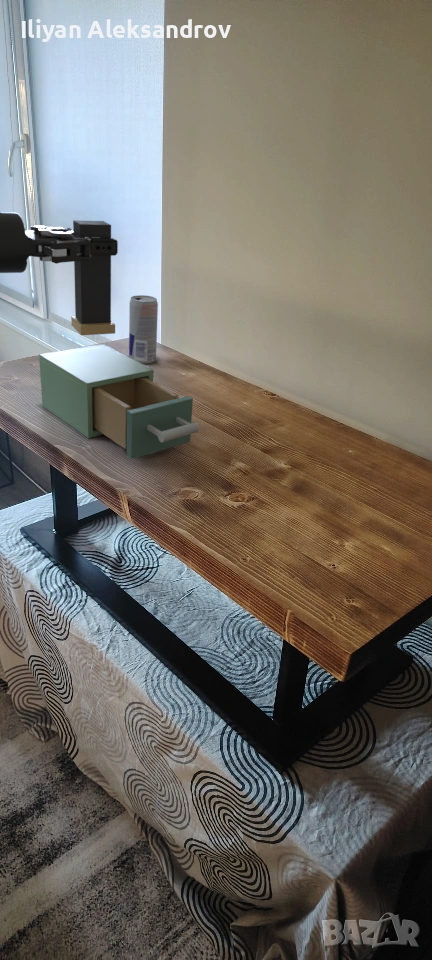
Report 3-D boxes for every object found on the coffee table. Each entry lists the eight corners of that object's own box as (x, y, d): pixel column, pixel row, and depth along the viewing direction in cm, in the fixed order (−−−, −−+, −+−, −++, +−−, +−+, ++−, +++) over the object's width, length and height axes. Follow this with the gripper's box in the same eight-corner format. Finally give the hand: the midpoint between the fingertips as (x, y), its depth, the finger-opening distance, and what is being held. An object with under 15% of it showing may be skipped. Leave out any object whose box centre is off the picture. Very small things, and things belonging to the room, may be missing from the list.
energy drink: (139, 353, 127) (140, 293, 121) (161, 359, 125) (163, 298, 119) (123, 359, 123) (123, 298, 117) (145, 366, 121) (146, 303, 115)
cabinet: (152, 421, 99) (153, 369, 95) (88, 438, 92) (87, 383, 88) (103, 392, 108) (103, 343, 104) (42, 405, 101) (39, 354, 97)
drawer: (208, 452, 89) (212, 408, 86) (149, 472, 83) (150, 425, 79) (138, 410, 100) (139, 370, 97) (81, 425, 94) (80, 382, 90)
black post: (71, 325, 95) (68, 219, 87) (104, 323, 97) (104, 220, 90) (80, 335, 91) (78, 225, 83) (115, 333, 93) (116, 226, 86)
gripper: (-8, 220, 75) (129, 224, 82) (-26, 204, 85) (97, 208, 93) (-3, 285, 78) (128, 282, 86) (-21, 261, 89) (97, 260, 96)
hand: (111, 244), depth 89 cm, fingers closed on black post, 3 cm apart
